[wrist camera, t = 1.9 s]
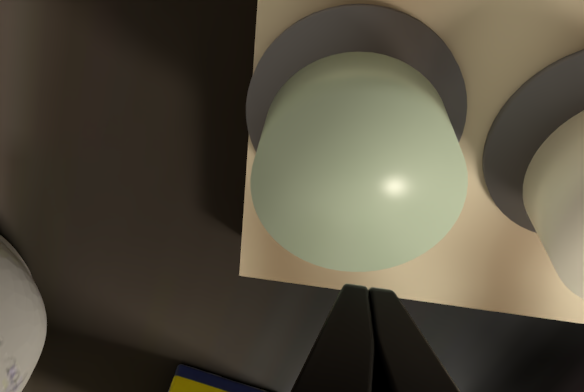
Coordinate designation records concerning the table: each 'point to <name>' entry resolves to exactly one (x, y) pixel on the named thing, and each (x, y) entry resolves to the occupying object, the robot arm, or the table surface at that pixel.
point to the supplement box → (205, 382)
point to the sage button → (358, 164)
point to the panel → (466, 124)
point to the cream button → (560, 200)
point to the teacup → (18, 320)
